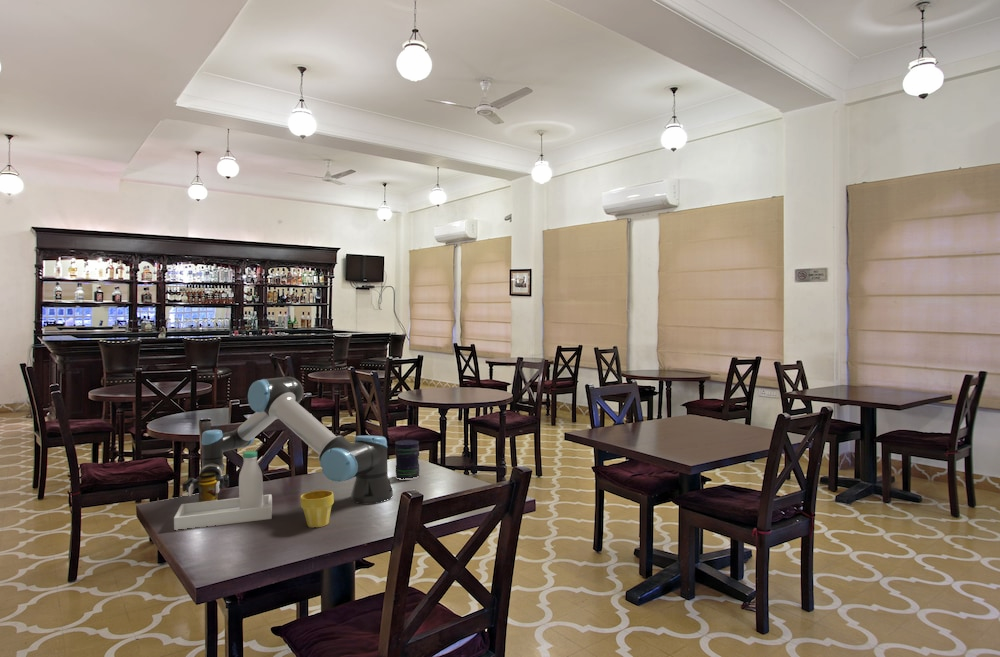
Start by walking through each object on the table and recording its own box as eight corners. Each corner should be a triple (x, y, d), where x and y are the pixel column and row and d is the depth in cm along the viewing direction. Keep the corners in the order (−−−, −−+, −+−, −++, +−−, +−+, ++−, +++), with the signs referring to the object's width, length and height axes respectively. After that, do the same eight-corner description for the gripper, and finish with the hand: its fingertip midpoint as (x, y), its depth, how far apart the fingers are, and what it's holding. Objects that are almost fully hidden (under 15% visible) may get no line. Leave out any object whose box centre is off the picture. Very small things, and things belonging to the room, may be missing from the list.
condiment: (220, 507, 216) (219, 474, 216) (193, 512, 211) (192, 478, 211) (216, 502, 222) (216, 470, 222) (191, 507, 217) (190, 474, 217)
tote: (271, 505, 218) (271, 494, 218) (271, 518, 203) (271, 506, 203) (181, 515, 208) (181, 504, 208) (174, 530, 193) (173, 518, 193)
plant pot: (294, 528, 193) (293, 497, 193) (313, 518, 203) (312, 489, 203) (322, 531, 190) (321, 500, 190) (340, 520, 200) (339, 490, 200)
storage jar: (424, 477, 253) (423, 441, 252) (405, 482, 246) (404, 445, 245) (409, 473, 259) (408, 438, 259) (390, 478, 252) (390, 442, 252)
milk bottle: (267, 508, 210) (266, 451, 210) (246, 514, 204) (244, 455, 204) (256, 504, 215) (255, 448, 215) (235, 510, 209) (233, 452, 209)
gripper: (239, 482, 237) (236, 497, 216) (180, 488, 230) (170, 505, 209) (239, 463, 237) (235, 476, 216) (179, 468, 230) (169, 483, 208)
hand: (203, 490), depth 212 cm, fingers open, 8 cm apart
